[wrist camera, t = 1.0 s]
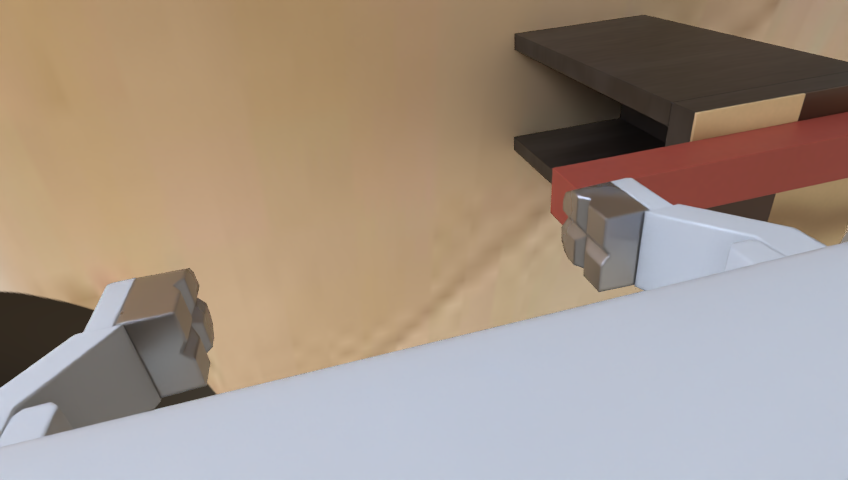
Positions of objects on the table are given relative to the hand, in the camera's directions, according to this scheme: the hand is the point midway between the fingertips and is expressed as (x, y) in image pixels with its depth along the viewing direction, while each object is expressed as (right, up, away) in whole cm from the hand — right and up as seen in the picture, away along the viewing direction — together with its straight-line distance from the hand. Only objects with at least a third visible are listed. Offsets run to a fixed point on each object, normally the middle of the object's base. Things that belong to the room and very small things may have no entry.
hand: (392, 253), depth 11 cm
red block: (+18, +5, +19) cm, 27 cm away
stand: (+17, +17, +43) cm, 49 cm away
